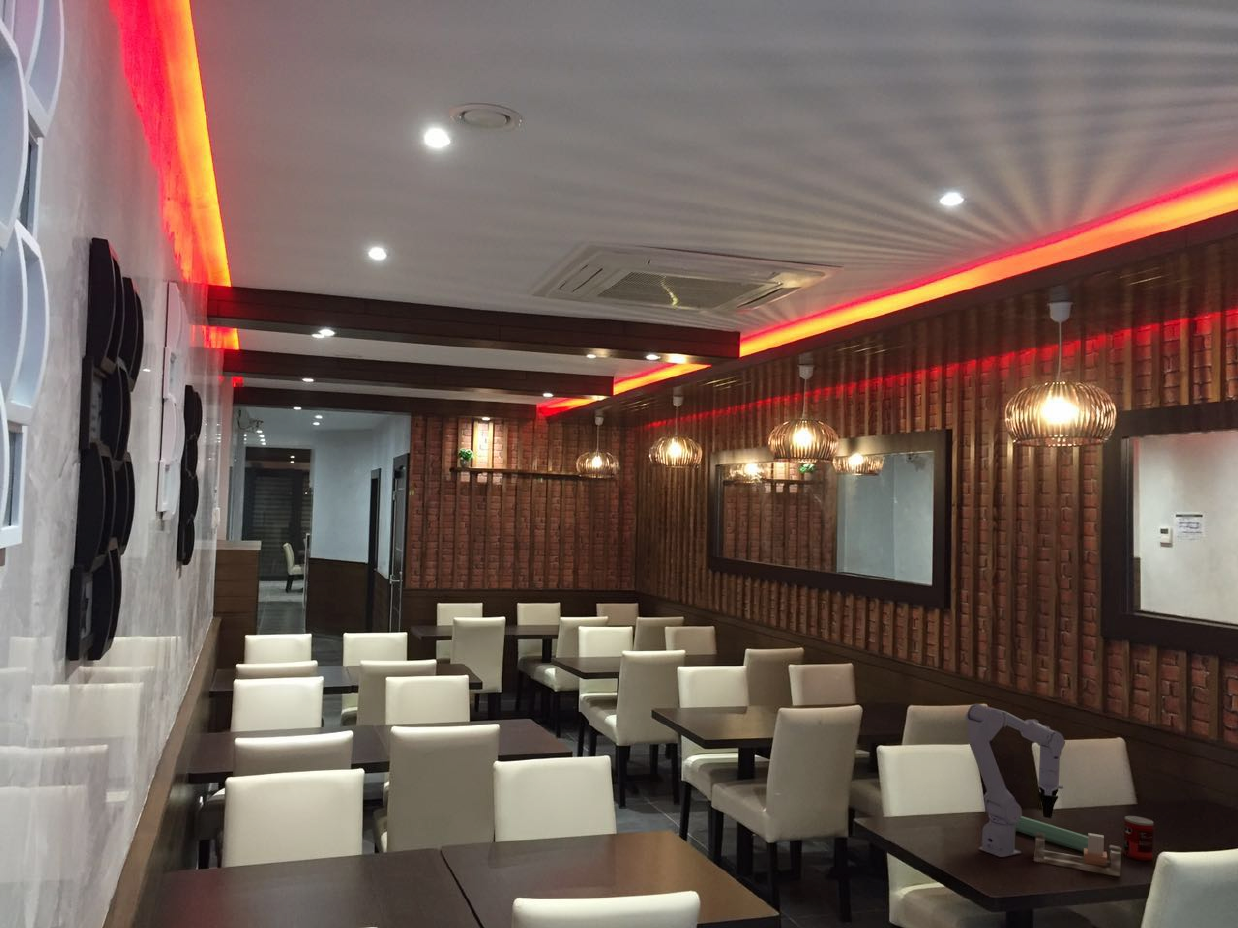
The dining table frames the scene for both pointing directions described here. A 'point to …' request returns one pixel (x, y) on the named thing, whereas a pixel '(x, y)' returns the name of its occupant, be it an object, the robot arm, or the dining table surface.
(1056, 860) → the rail
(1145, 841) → the canned food
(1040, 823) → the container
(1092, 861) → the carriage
